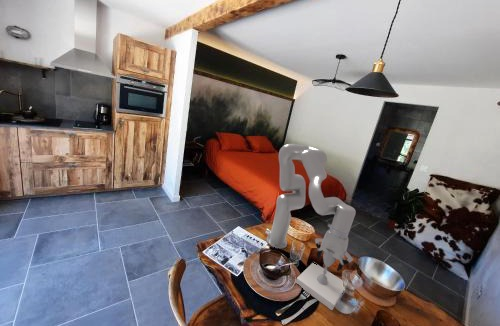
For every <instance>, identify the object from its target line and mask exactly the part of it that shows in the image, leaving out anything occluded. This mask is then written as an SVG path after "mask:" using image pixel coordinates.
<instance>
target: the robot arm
mask: <svg viewBox="0 0 500 326" xmlns="http://www.w3.org/2000/svg"><path fill="white" fill-rule="evenodd" d="M293 160H300V161H301V164H302V165H303V167H304V169H305V171H306V175H307V177H308V179H309V185H308V198H309V200H310V202H311V206H312V208H313V209H314V211H315V213H317V215H320V216H327V215H334V216H333V219H332V222H331V223H327V227H328V229H327V231H326V232H325V234H324V236H323V238H318V237H317V238H315V239H314V241H315V247H316V248H317V252H316V260H319V259H320V258H321V257H322V255H323V253H324V252H327V250H328V251H330V252H332V253H335V254H333V255H332V256H333V257H334V258H336V260H338V261H339V264H338V265H337V269H336V271H337V273H339V271H342V270H343V267H344V266H345V265H348V264H349V263H351V262H353V261H354V258H353V256H351V254H350V253H349V252H348V250H347V249H348V246H349V237H348V236H349V234H350V231H351V228H352V224H353V222H354V218H355V216H356V213H357V212H356V209H355V208H354V207H353V206H351V205H349V204H347V203H345V202H344V201H343V200H341V199H340V198H339V197H336V196H330V197H324V194H323V192H322V187H321V186H322V182H323V181H325V179H327V176H328V175H327V174H328V173H327V172H326V170H325V167H324V165H326V163H327V160H328V157H327V154H326V153H325V151H324V150H322V149H320V148H319V149H318V148H315V147H312V146H310V145H306V144H297V143H288V144H284V145H282V147H280V149H279V152H278V163H279V188H280V190H281V191H283V192H287V193H282V194H280V195H278V197H277V198H276V206H275V212H274V218H273V223H272V226H271V230H270V228H266V230H265V232H264V233H265V234H266V235H267V236H266V243H267V244H268V245H269V246H270V247H272V248H274V247H275V249H278V248H279V249H280V250H283V249H285V248H286V247H287V246H288V241H287V237H288V233H289V232H288V231H289V228H290V225H291V222H292V221H291V220H292V215H291V211H294V210H299V209H302V208H304V206H305V204H306V193H307V192H306V191H307V190H306V189H307V186H306V180H305V177H303V176H302V175H301V174H298V173H297V174H296V172H295V171H296V170H295V169H296V168H295V163H294V162H293ZM288 192H289V193H288ZM320 243H321V244H320ZM279 249H278V250H279ZM326 249H327V250H326ZM345 257H346V258H347V259H345Z"/></svg>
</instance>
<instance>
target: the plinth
mask: <svg viewBox="0 0 500 326" xmlns="http://www.w3.org/2000/svg"><path fill="white" fill-rule="evenodd" d="M314 263H315V262H314ZM314 263H313V262H311V263H310V265H308V267H306V269H305V270H303V272H301V273H300V274H299V276H297V278H296V279H295V284H296V283H297V284H299V285H300V286H301V287H302V288H303V289H302V288H301V287H300V286H299V287H300V288H301V289H302V290H304V291H305V292H307V293H308V294H309V295H310V294H311V295H310V296H312V297H313V298H315V300H317V301H318V302H320V303H321V304H322V305H324V306H325V307H326V308H328V309H329V310H331V311H334V308H335V307H336V306H337V303H338V302H339V301H340V299H341V297H342V296H341V295H343V294H344V292H345V291H344V289H345V288H344V287H343V286H342V285H343V281H344V280H342V279H341V278H340V277H338V276H337V275H334V274H333V273H331V272H330V271H329V270H327V271H326V272H327V273H326V274H325V276H326V277H327V282H328V284H327V285H323V284H320V283H319V282H318V281H317V277H318V276H319V275H321V274H323V271H324V268H325V267H322V266H320V265H319V264H317V263H316V264H317V265H316V264H314ZM297 284H296V285H297ZM345 290H346V289H345ZM343 291H344V292H343ZM342 293H343V294H342ZM339 298H340V299H339Z"/></svg>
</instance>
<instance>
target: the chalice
mask: <svg viewBox="0 0 500 326" xmlns="http://www.w3.org/2000/svg"><path fill="white" fill-rule="evenodd" d="M326 250H327V249H326ZM333 254H335V253H332V252H330V251H328V250H327V252H324V251H323V252H322V256H323V257H322V258H323V259H322V260H323V264H324V266H325V267H323V268H324V271H323V274H321V275H319V276H318V277H317V281H318V282H319V283H320V284H323V285H327V284H328V282H327V277H326V276H325V274H326V273H327V272H326V271H329V270H328V267H331V266H332V265H334V264H335V262H336V261H337V259H336V258H334V257H333V256H332V255H333Z"/></svg>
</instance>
